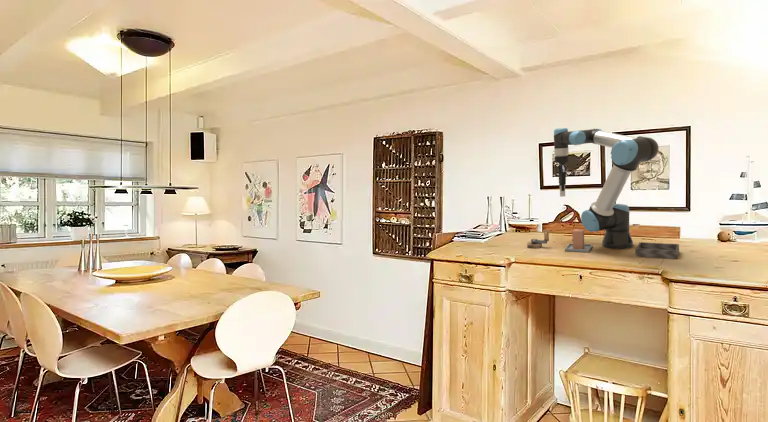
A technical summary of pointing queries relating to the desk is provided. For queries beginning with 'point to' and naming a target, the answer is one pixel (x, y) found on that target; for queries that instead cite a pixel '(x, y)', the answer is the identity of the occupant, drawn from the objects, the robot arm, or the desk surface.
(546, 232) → the crank
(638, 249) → the bin
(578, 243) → the post
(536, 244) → the crank base
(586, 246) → the tray
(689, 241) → the desk surface
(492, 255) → the desk surface
